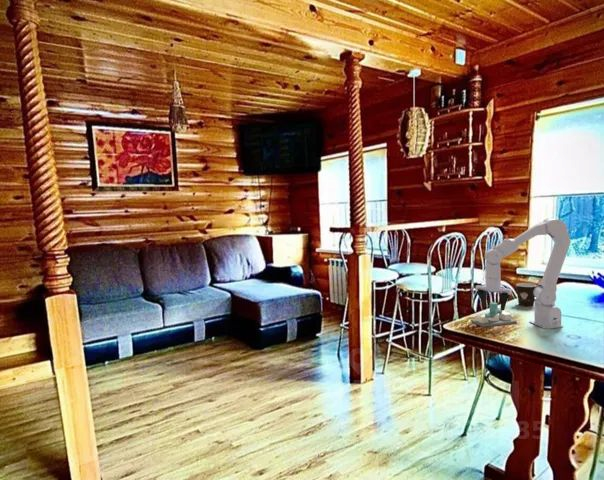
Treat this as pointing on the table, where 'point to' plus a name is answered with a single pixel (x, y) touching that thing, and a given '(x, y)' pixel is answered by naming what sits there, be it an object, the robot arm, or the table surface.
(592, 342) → the table surface
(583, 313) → the table surface
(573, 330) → the table surface
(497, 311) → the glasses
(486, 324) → the display stand
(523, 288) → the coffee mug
